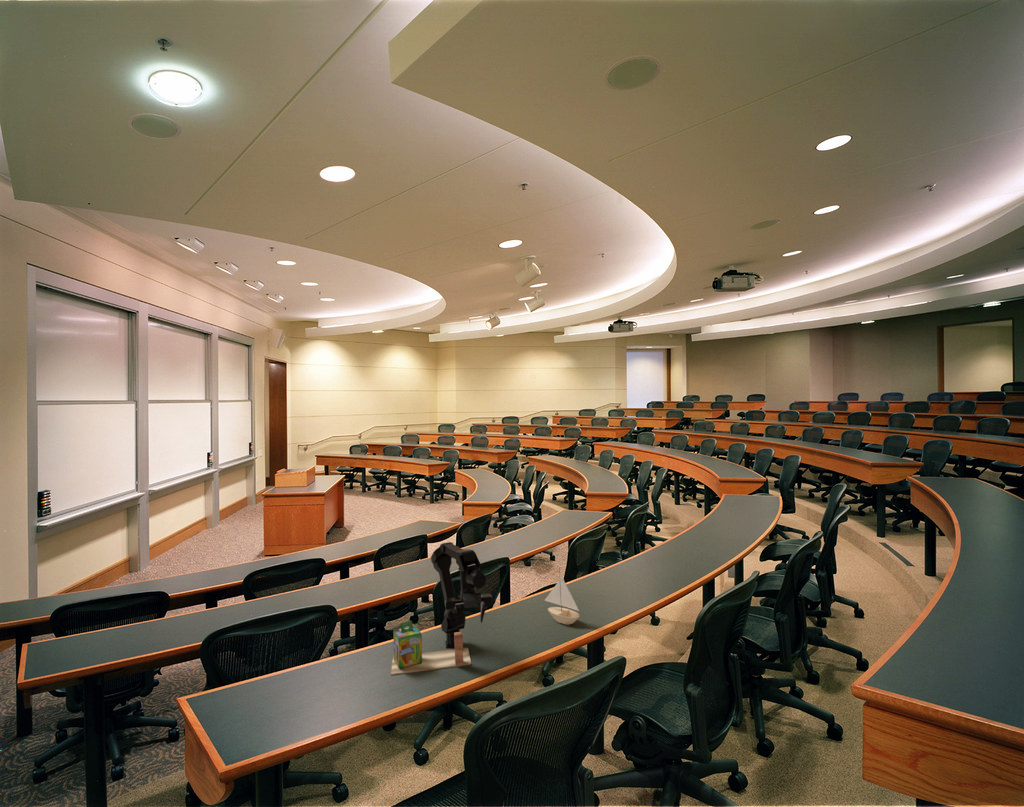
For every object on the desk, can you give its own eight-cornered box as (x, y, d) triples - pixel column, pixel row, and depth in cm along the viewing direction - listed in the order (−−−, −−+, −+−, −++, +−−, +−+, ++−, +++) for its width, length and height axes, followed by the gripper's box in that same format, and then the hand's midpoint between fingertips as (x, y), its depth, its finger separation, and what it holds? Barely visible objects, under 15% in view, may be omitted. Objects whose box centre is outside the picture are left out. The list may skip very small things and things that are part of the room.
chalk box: (399, 669, 181) (398, 629, 182) (393, 660, 189) (392, 621, 190) (423, 663, 186) (422, 624, 186) (416, 654, 194) (415, 616, 195)
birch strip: (393, 658, 192) (392, 628, 193) (467, 648, 198) (466, 620, 199) (390, 675, 178) (390, 643, 179) (471, 664, 184) (470, 633, 185)
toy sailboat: (583, 568, 220) (571, 572, 214) (586, 624, 218) (574, 630, 212) (549, 560, 235) (537, 564, 229) (551, 613, 233) (539, 618, 227)
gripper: (445, 591, 182) (447, 634, 180) (493, 585, 186) (496, 627, 184) (443, 583, 193) (445, 624, 191) (489, 578, 196) (491, 618, 195)
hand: (469, 623), depth 190 cm, fingers open, 9 cm apart
